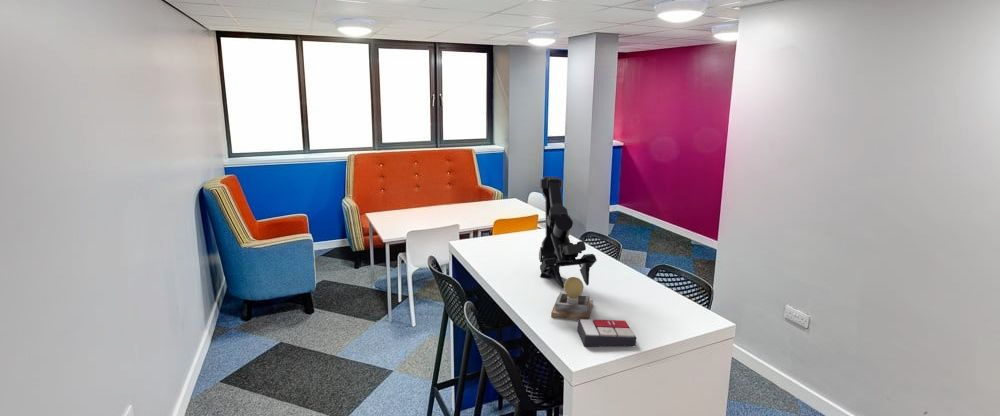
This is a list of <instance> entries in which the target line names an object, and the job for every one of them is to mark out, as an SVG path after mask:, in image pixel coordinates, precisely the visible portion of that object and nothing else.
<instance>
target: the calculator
mask: <svg viewBox="0 0 1000 416" xmlns="http://www.w3.org/2000/svg"><path fill="white" fill-rule="evenodd" d="M576 328H577V329H576V330H577V334H578V336H579V338H580V340H581V343H582V345H583V347H585V348H595V347H596V348H597V347H598V348H599V347H612V348H613V347H614V348H615V347H617V348H618V347H619V348H620V347H622V348H623V347H624V348H625V347H626V348H627V347H631V348H632V347H633V346H635V347H636V343H637V337H636V335H635V333H634V332H633V330H632V329H631V327H630V326H629V324H628V322H627V321H626V320H619V319H617V320H615V319H593V320H592V319H589V320H584V319H580V320H577V327H576ZM633 348H634V347H633Z"/></svg>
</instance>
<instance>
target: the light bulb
mask: <svg viewBox="0 0 1000 416" xmlns="http://www.w3.org/2000/svg"><path fill="white" fill-rule="evenodd" d="M563 284H564V288H563V290H564V293H566V294H567V295H568V297H567V304H576V305H578V299H579V298H578V296H579V295H580V294H581V295H582V293H583V290H584V283H583V281H582V280H581V279H580V278H579V277H576V276H571V277H568V278H566V280H565V281H564V282H563Z"/></svg>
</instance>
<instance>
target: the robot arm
mask: <svg viewBox="0 0 1000 416" xmlns="http://www.w3.org/2000/svg"><path fill="white" fill-rule="evenodd" d="M563 182H564V181H563V179H561V178H559V176H543V177H542V178H541V179H539V188H540V189H541V190H540V192H541V194H542V196H543V198H544V200H545V201H544V202H545V206H544V207H545V209H544V210H545V237H544V239H543V240H542V242H541V246H540V248H539V251H538V260H539V263H541V264H540V265H539V269H540V275H539V277H540V278H546V279H553V281H554V282H555V283H557V285H558V286H559V287H560V288H561V289H564V281H563V278H562V275H561V272H560V270H561V269H560V268H561V267H567V266H570V267H571V266H579V268H580V269H579V271H580V274H581V276H582V279H583V282H584V283H585V286H589V284H590V269H591V268H592V267H593V265H594V264H595V263H596V262H598V261H597V259H598V258H597V257H596V255H595V254H593V253H588V254H583V255H582V256H581V257H580V258H578V257H579V254H582V253H583V252H584V251H586V250H587V247H586V244H585V241H584V240H582V241H581V240H579V241H577V242H576V243H573V242H571V240H570V237H569V236H571V235H570V234H571V232H572V228H573V225H574V221H573V219H572V218H571V216H570V215H569V213H568V209H567V207H565V206H564V205H563V204H564V203H563V198H562V197H563V196H562V191H561V190H562V189H563V187H564V186H563V185H564V183H563Z"/></svg>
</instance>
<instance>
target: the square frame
mask: <svg viewBox="0 0 1000 416" xmlns="http://www.w3.org/2000/svg"><path fill="white" fill-rule="evenodd" d="M567 297H568V295H567V294H566V292H565V291H563V292H562V291H560V292H559V294H558V296H557V297H556V300H555V303H554V305H553V306H552V310H551V312H550V318H556V319H557V318H558V319H563V320H564V319H565V320H574V321H578V320H580V319H584V320H590V315H591V312H592V308H593V302H594V301H593V300H591V299H590V295H589V294H582V293H581V294H580V295H579V296H578V298H579V299H578V305H576V304H567Z"/></svg>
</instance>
